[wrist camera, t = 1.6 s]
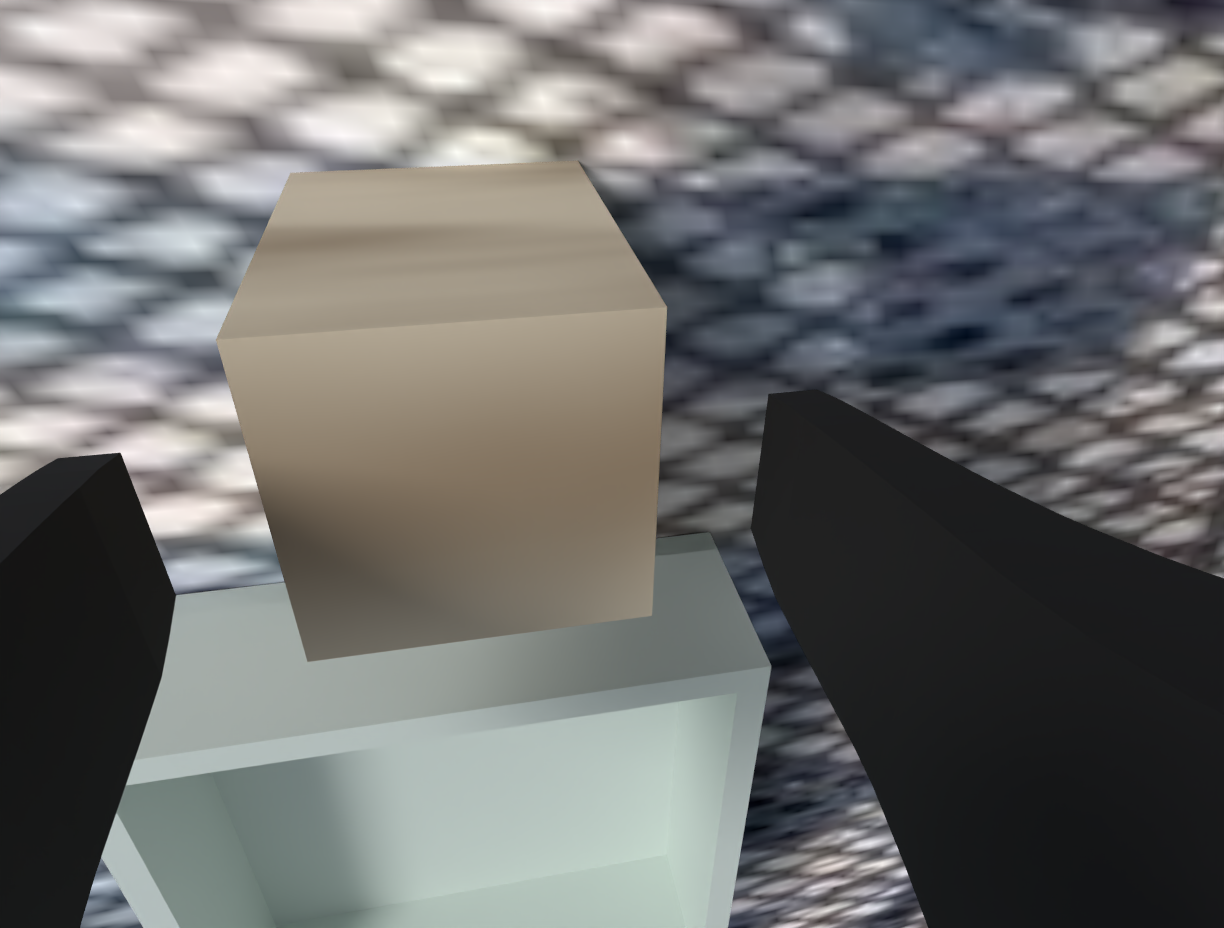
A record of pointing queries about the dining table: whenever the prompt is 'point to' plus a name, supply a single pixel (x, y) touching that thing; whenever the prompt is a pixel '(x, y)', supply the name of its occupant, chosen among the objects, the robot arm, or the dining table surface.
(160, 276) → the dining table surface
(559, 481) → the birch block
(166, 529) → the dining table surface
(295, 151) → the dining table surface
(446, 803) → the bin
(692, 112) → the dining table surface
